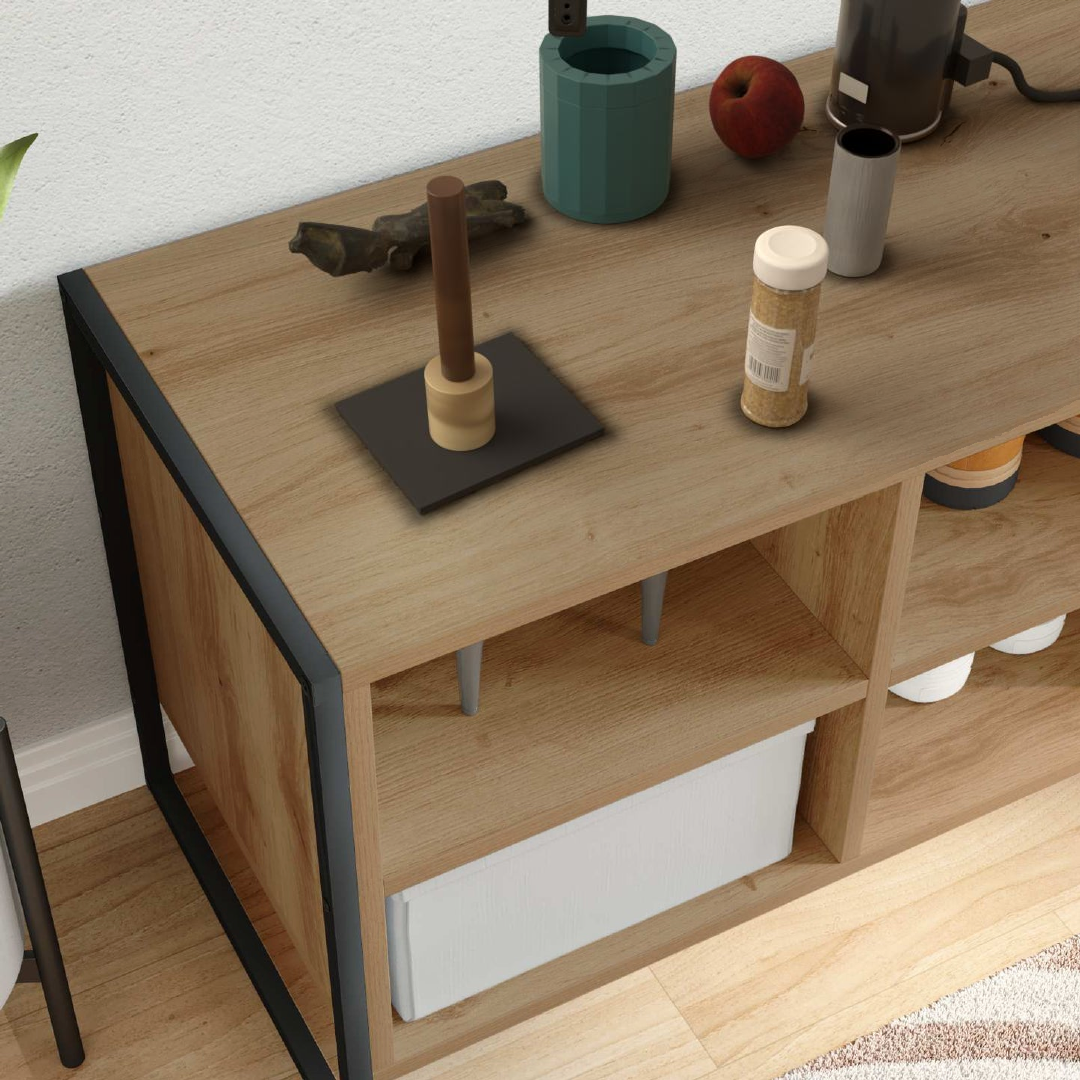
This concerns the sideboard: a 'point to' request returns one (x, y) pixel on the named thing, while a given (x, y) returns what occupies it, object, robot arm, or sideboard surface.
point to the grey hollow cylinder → (860, 197)
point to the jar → (607, 119)
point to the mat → (518, 442)
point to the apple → (756, 106)
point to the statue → (396, 233)
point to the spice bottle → (783, 324)
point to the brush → (455, 330)
